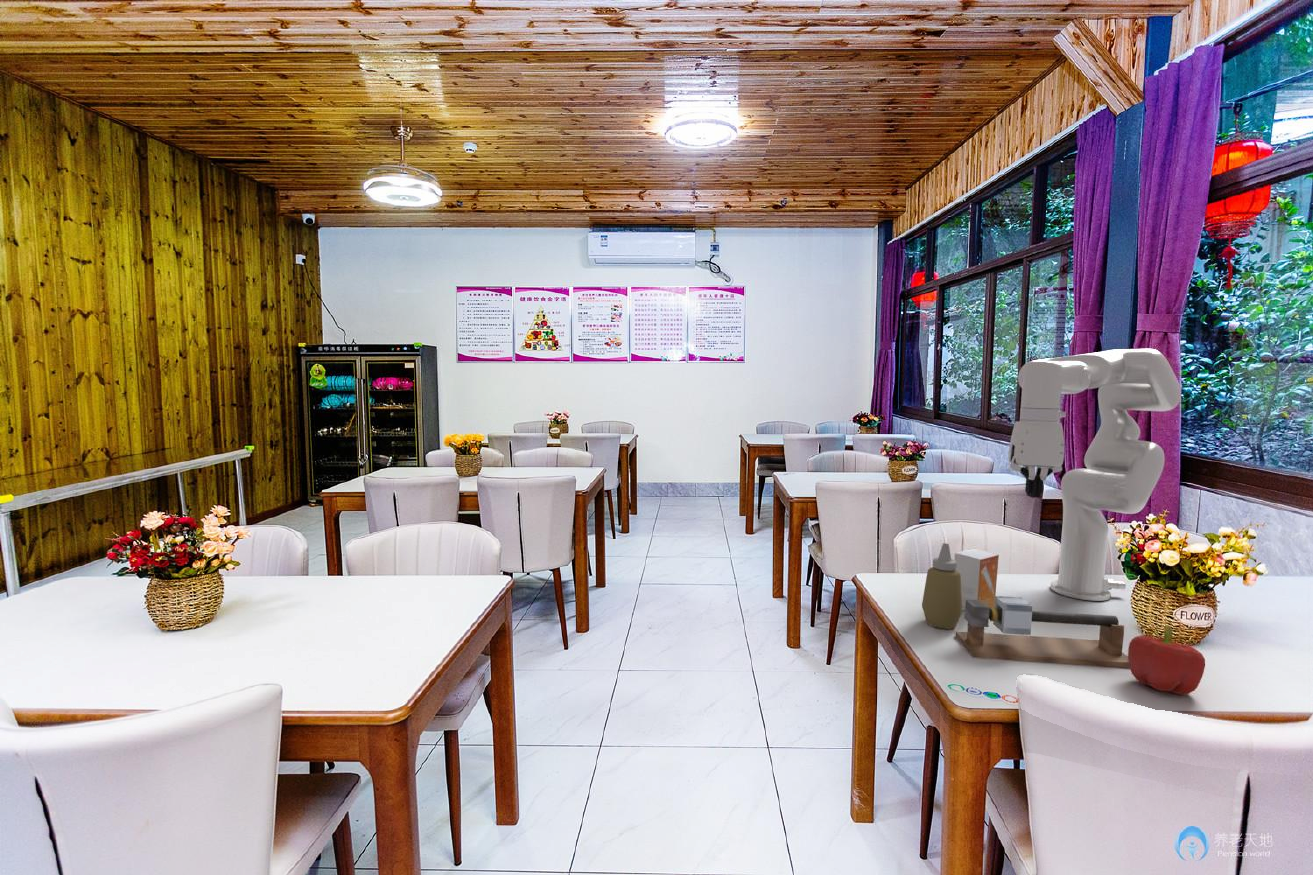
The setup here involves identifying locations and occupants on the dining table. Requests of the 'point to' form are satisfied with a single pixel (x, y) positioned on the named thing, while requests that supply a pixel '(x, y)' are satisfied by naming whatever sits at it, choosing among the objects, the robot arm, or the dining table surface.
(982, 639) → the rod stand
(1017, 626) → the sleeve
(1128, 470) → the robot arm
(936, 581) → the squeeze bottle
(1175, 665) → the vegetable
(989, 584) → the small box
